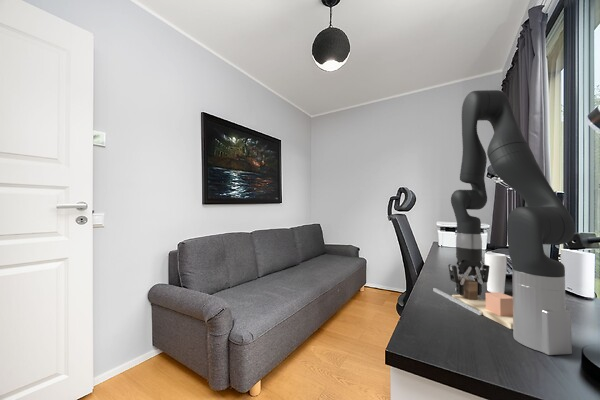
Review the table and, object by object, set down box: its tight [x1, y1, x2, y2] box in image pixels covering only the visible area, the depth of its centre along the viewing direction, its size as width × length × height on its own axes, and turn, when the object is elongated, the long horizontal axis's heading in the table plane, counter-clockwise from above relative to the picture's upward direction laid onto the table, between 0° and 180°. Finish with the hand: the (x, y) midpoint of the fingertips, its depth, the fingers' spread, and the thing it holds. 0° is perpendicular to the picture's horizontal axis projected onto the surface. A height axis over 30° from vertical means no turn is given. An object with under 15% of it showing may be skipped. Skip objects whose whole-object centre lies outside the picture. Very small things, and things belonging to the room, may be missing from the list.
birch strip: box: [451, 278, 513, 330], centre depth 78 cm, size 22×8×8 cm, turn 6°
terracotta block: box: [485, 292, 513, 316], centre depth 74 cm, size 5×5×5 cm
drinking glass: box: [484, 252, 507, 294], centre depth 97 cm, size 7×7×15 cm
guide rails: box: [432, 287, 486, 316], centre depth 87 cm, size 22×10×1 cm, turn 6°
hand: (469, 294), depth 86 cm, fingers open, 6 cm apart
